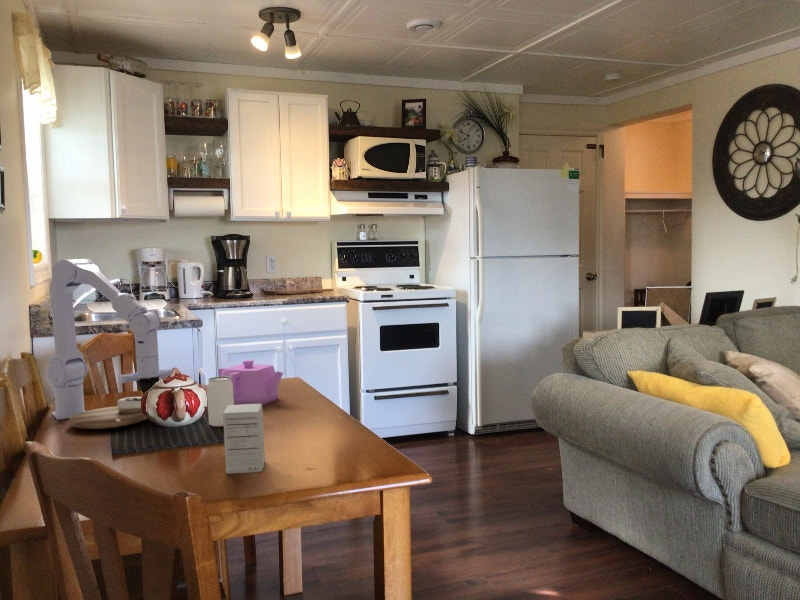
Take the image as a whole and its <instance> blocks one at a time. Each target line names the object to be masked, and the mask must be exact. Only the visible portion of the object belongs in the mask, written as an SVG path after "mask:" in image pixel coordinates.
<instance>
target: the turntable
mask: <svg viewBox="0 0 800 600" xmlns="http://www.w3.org/2000/svg"><path fill="white" fill-rule="evenodd" d="M146 420H148V418H147V417H146V415H144V414H143V413H142V412H141V413H136V414H119V413H118V405H117V406H108V407H102V408H101V407H100V408H94V409H89V410H85V412H81V413H78V414H76V415H73V416H72V417H70V418H68V421H69V423H68V424H69V426H71V427H73V428H76V429H84V430H85V429H88V430H93V429H98V428H110V427H118V426H124V425H129V424H131V425H133V424H136V423H139V422H143V421H146ZM129 426H130V425H129Z"/></svg>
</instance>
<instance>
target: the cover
mask: <svg viewBox="0 0 800 600" xmlns="http://www.w3.org/2000/svg"><path fill="white" fill-rule="evenodd" d="M142 397H143V396H129V397H128V396H127V397H123V398H120V399H118V400H117V402H116V403H117V406H118V413H119V414H136V413H141V412H142V411H141V398H142Z"/></svg>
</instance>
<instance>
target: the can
mask: <svg viewBox="0 0 800 600" xmlns="http://www.w3.org/2000/svg"><path fill="white" fill-rule="evenodd" d="M230 378H231V377H227V376H221V377H218V376H214V377H210V378H208V382H207V383H206V392H207V412H208V413H207V414H208V425H210V426H211V427H214V428H221V427H222V428H224V423H223V413H224V411H225V410H226V408H227V406H228V405H234V400H233V384H232V381H231V379H230Z"/></svg>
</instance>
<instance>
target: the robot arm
mask: <svg viewBox="0 0 800 600" xmlns="http://www.w3.org/2000/svg"><path fill="white" fill-rule="evenodd" d="M51 275H52V277H51V279H50V280H51V281H50V284H49V299H50V308H51V318H52V320H51V321H52V328H53V329H52V330H53V341H54V349H55V350H54V353H52V355H50V357H49V358H48V368H47V372H46V376H47V379H48V381H49V382H50V383H51V385H52V387H54V389H53V390H54V401H55V402H54V403H55V411H53V412H52V415H53V417H55V419H56V420H57V421H59V420H65V419H70V417H72V416H73V415H76V414H78V413H81V412H85V411H86V410H85V399H84V385H83V384H84V383H83V382H84V381H85V380H84V379H85V377H86V376H87V375H88V370H89V369H88V365H87V363H86V361H85V358H84V353H82V351H80V350H79V348H78V346H77V345H78V343H77V335H76V334H77V333H76V324H75V323H76V321H75V313H74V301H73V293H74V292H75V291H76V290H77V289H78V287H79V286H81V285H90V286H91V287H92V288H93V289H95V290H96V291H98V292H99V293H100V294H101V295H102V296H103V297H105V298H106V299H107V300H109V301H110V302H111V308H112V309H113V311H115V312H116V313H117V314H118V315H119V316H121V317H122V319H124V320H125V321H126V322H127V323H128V324H129V326H128V327H129V329H130V331H131V332H132V334H133V338H134V344H135V360H136V361H135V362H136V364H135V365H136V372H131V373H126V374H120V375H119V383H120V384H125V383H132V382H136V383H137V384H138V386H139V388H140V389H141V392H142V393H143V395H144V393H145V392H146V391H147V390H149V389H150V388H151V387H152V386H153V385H154V384H155V383H156V382H158V381H159V380H160V381H161V379H162V378H169V377H168V376H170V375H171V373H172V371H173V369H174V368H168V369H167V368H166V369H160V361H159V360H160V359H159V343H158V330H159V329H160V327H161V323H162V322H161V321H162V320H161V317H160V316H159V314H158V313H157V312H156V311H154V310H148V308H147V307H146V306H143V305H142V304H141V303H140V302H139V301H137V300H136V299H135V295H134V294H132V293H128V292H121V291H120V290H119V289H118V288H117V287H116V286H115V285H114V284H113V283H112V282H111V281H110V279H108V278H107V277H106V275H104V274H103V272H101V271H100V268H99V266H98V265H96V264H94V262H93V261H92V260H90V259H89V258H79V259H78V258H76V259H60V260H58V261H57V262H56V263H55V264H54V265H53V266H52V267H51Z"/></svg>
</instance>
